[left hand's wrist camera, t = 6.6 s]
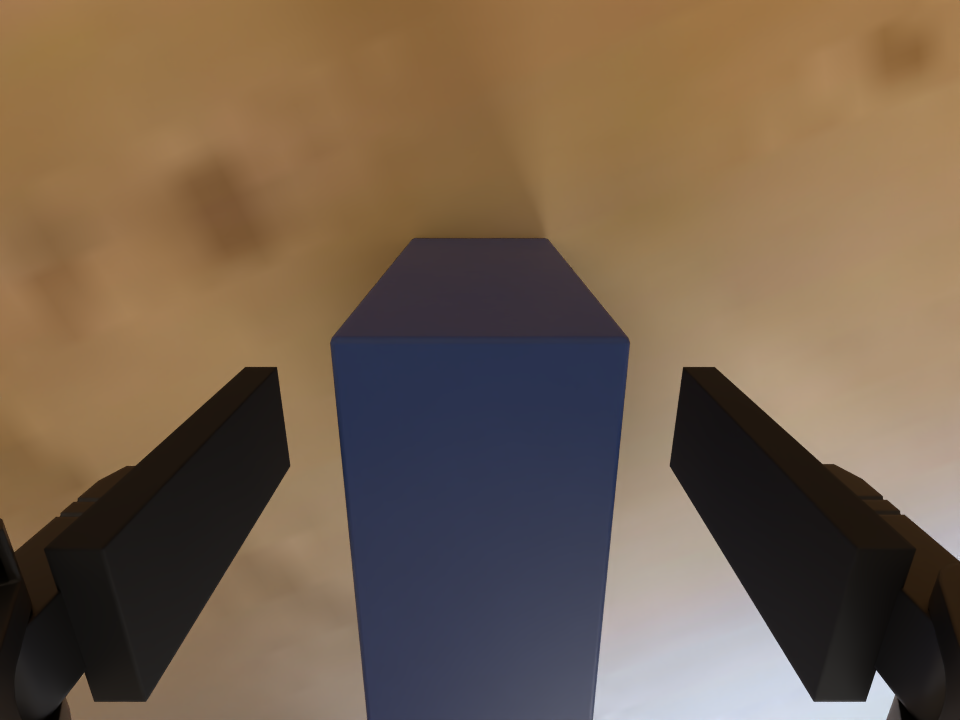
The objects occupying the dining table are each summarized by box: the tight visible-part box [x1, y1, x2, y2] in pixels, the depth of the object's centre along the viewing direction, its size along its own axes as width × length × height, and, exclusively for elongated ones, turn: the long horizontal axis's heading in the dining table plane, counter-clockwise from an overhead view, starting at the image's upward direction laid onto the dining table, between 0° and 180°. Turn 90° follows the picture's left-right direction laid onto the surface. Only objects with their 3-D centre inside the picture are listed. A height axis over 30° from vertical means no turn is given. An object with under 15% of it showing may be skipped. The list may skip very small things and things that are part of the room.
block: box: [330, 238, 630, 720], centre depth 13 cm, size 4×8×10 cm, turn 0°
